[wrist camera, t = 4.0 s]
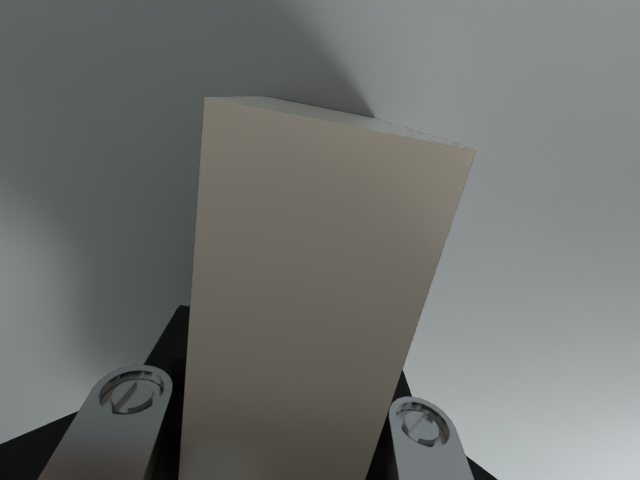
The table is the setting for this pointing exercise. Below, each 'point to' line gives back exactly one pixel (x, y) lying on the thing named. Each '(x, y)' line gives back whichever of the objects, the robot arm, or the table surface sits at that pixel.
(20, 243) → the table surface
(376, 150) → the strip
